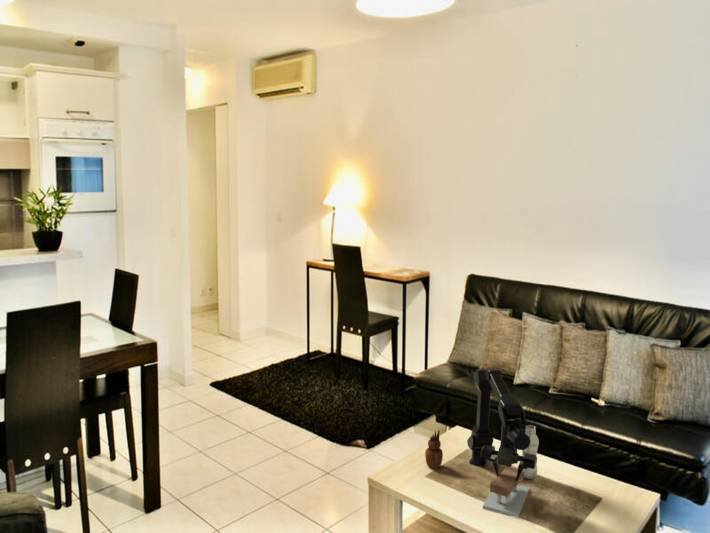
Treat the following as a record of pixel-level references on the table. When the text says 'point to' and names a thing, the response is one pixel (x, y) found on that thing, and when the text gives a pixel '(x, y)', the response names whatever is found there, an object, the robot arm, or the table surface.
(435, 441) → the wooden figurine
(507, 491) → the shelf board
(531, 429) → the plastic bottle
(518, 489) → the peg stand
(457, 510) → the table surface
